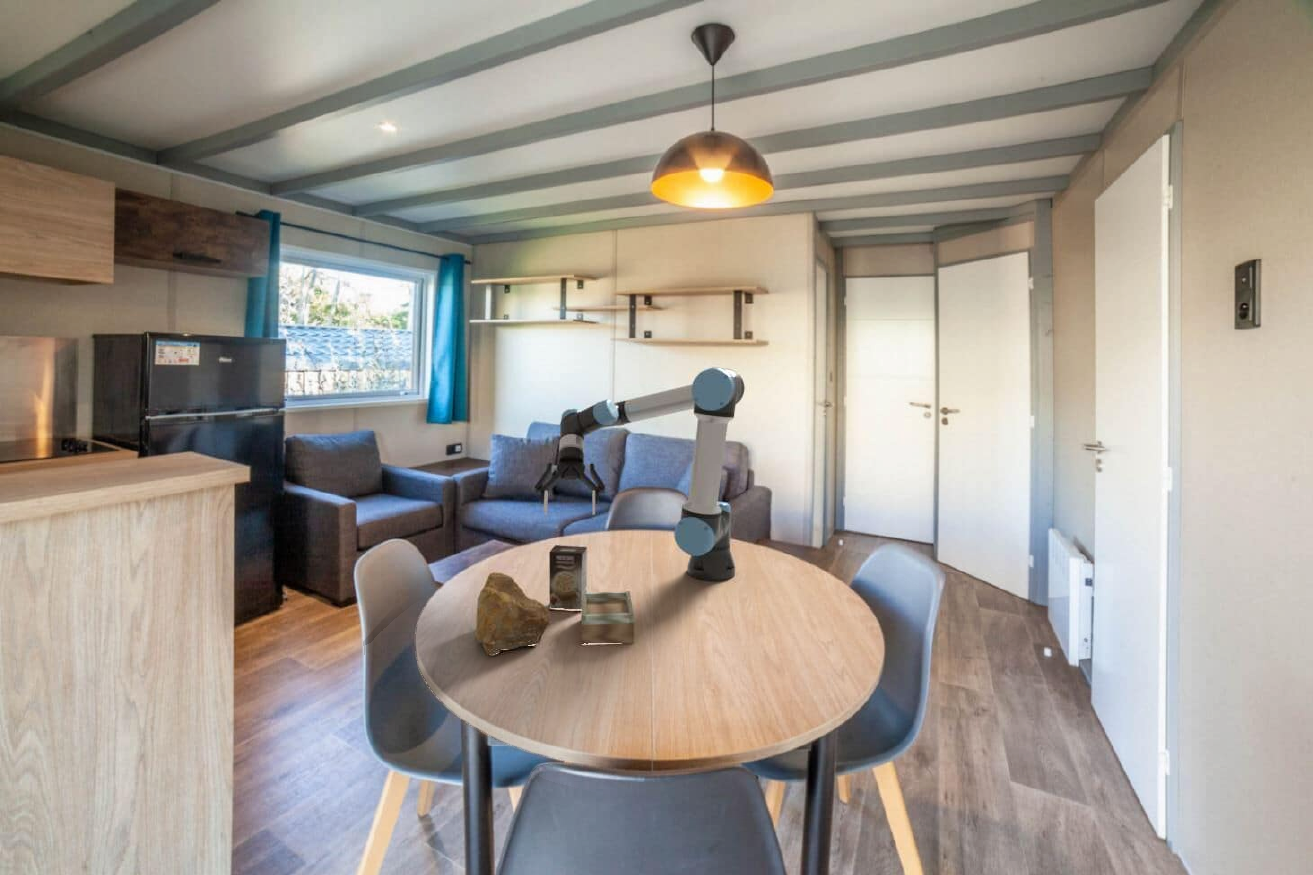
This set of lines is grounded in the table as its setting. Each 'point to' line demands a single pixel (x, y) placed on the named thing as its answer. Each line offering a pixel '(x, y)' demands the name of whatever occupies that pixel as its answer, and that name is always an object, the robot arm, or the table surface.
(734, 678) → the table surface
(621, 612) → the open wooden box
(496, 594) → the rough brown rock
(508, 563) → the table surface
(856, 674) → the table surface
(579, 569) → the coffee box
